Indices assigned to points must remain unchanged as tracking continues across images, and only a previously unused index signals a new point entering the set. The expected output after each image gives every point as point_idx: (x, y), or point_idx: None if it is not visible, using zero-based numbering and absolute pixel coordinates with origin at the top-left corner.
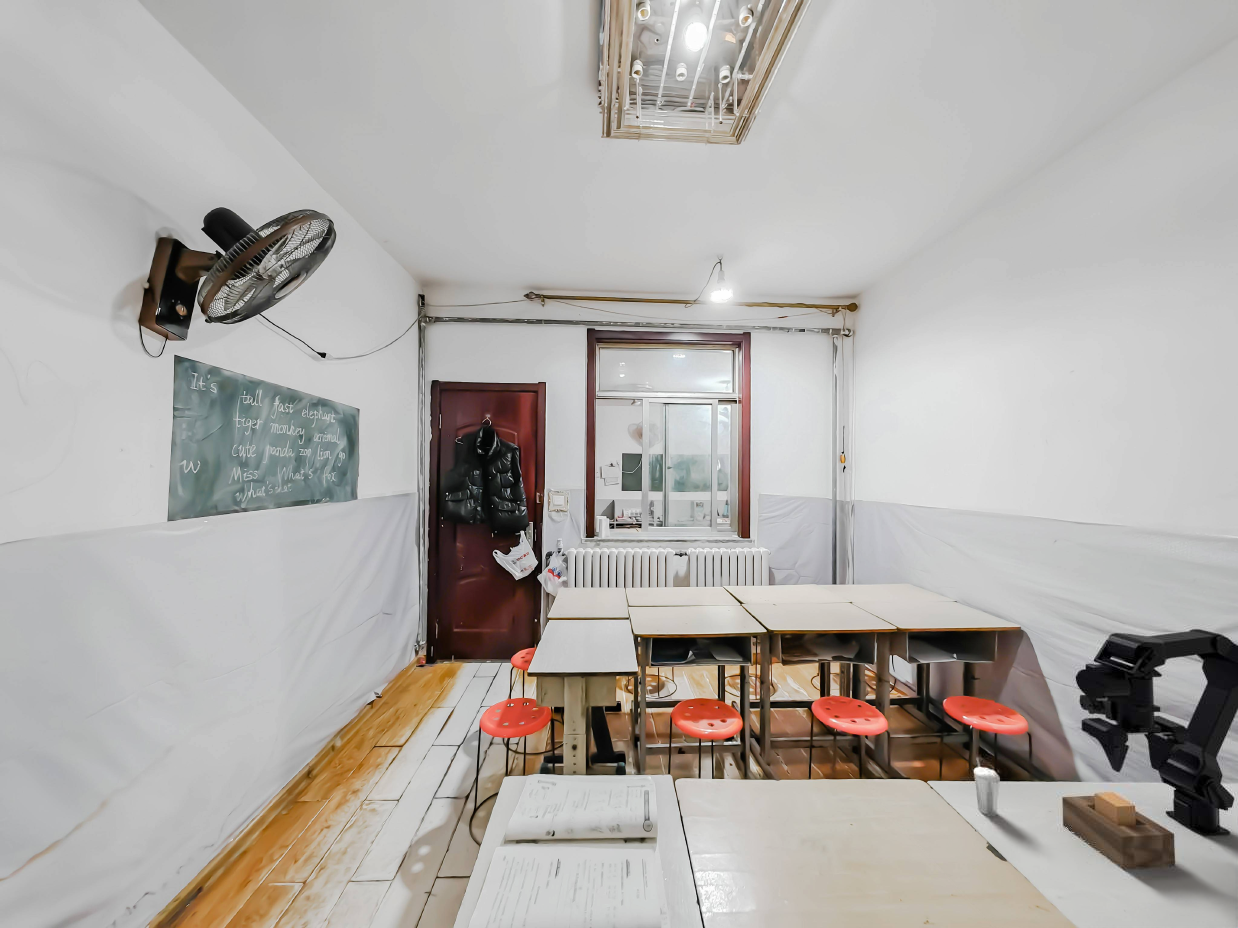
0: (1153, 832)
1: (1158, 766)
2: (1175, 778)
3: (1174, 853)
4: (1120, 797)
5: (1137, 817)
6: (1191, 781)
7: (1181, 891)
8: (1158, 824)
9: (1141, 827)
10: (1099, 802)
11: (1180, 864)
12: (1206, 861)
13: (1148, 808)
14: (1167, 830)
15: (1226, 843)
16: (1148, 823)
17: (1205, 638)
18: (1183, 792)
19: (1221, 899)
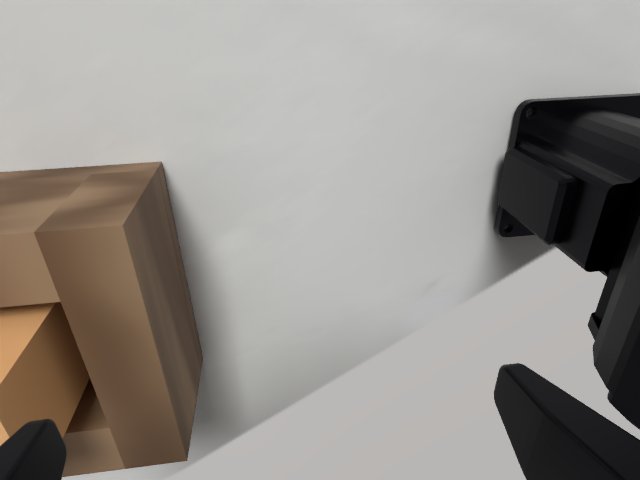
0: (94, 461)
1: (511, 442)
2: (630, 295)
3: (197, 390)
4: (3, 441)
5: (110, 391)
6: (625, 401)
7: None
8: (176, 419)
9: (65, 441)
10: None
11: (228, 352)
12: (338, 336)
13: (489, 55)
14: (177, 447)
15: (525, 261)
16: (128, 420)
17: None
18: (627, 216)
19: (205, 445)
